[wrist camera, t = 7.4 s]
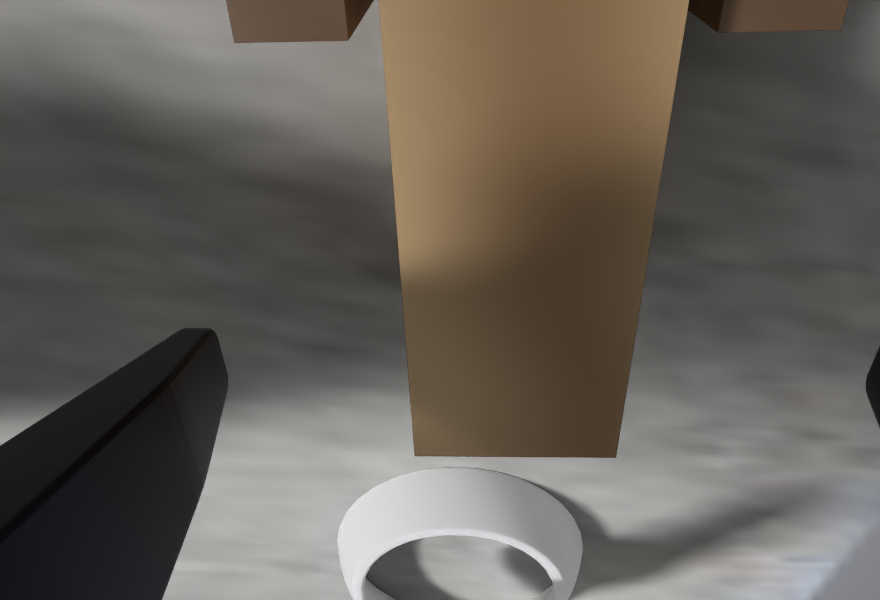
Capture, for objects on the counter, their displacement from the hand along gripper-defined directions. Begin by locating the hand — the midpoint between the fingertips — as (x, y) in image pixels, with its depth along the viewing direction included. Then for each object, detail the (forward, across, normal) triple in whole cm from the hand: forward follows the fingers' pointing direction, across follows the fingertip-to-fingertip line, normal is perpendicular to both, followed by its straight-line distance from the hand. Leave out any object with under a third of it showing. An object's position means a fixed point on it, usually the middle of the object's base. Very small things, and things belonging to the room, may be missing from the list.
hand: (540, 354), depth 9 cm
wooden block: (+6, 0, -2) cm, 6 cm away
